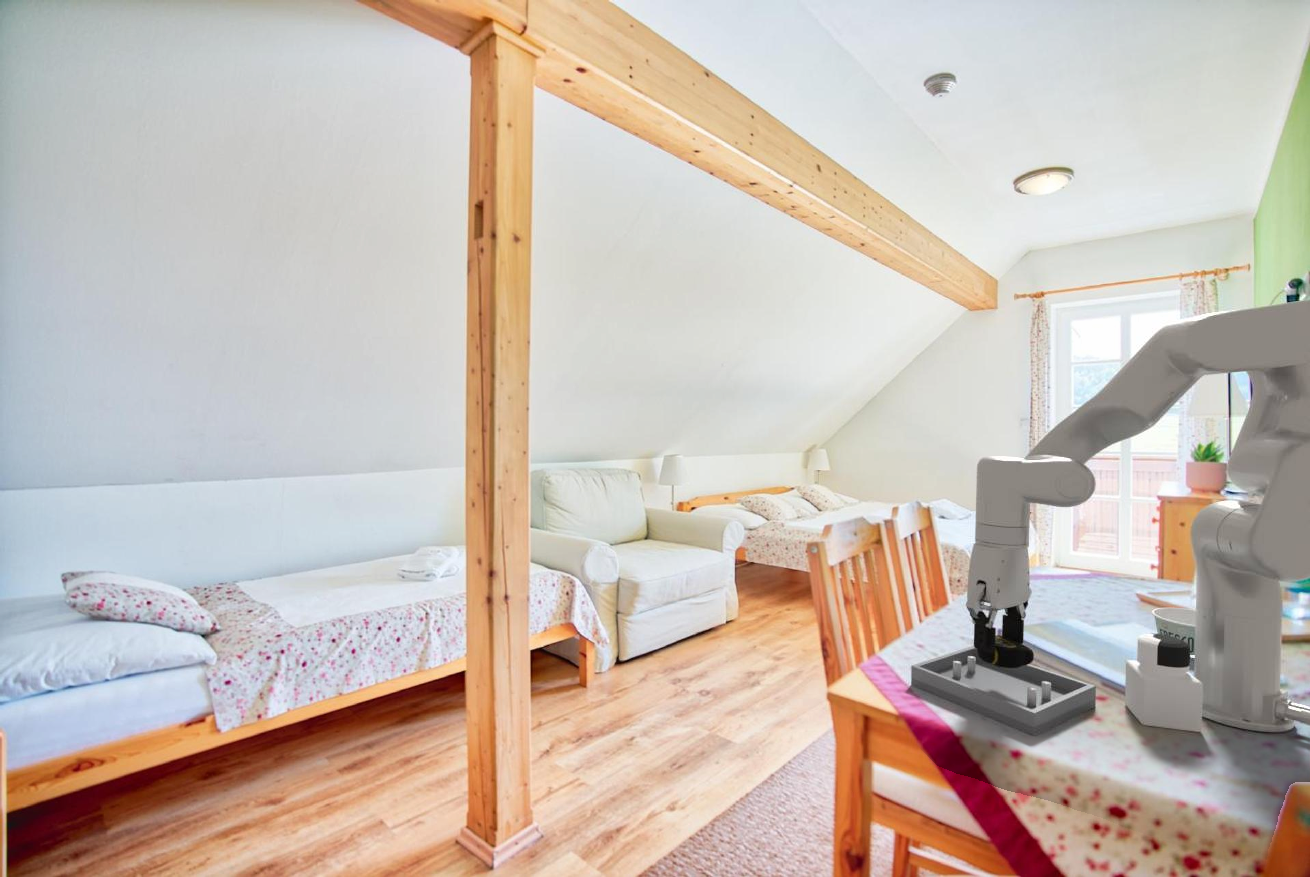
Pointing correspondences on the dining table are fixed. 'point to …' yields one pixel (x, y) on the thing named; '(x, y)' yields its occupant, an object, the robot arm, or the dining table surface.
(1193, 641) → the food container
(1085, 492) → the robot arm
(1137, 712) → the medicine bottle
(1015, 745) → the dining table surface
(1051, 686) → the pin tray
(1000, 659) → the tape measure
